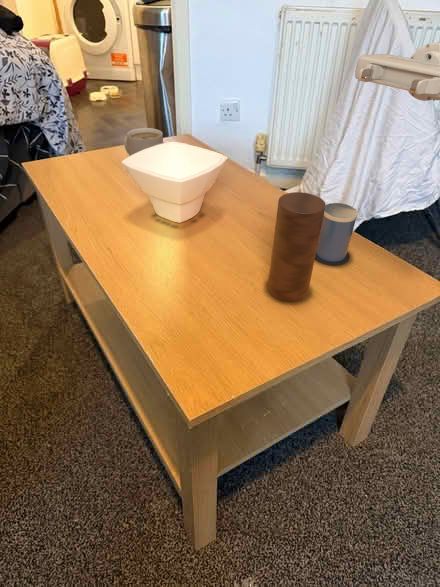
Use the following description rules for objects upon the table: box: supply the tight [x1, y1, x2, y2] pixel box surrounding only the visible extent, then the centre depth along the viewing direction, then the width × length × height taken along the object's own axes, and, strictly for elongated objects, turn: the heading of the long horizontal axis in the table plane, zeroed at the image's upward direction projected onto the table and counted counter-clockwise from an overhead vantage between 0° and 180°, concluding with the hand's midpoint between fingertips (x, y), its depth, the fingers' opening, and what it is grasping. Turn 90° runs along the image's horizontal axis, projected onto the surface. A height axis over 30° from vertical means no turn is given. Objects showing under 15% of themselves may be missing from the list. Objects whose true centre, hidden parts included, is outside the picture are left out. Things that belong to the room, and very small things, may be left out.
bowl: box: [121, 140, 229, 224], centre depth 95 cm, size 19×19×14 cm
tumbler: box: [316, 202, 359, 262], centre depth 84 cm, size 7×7×10 cm
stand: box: [267, 191, 327, 303], centre depth 72 cm, size 8×8×18 cm
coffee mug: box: [123, 127, 164, 157], centre depth 119 cm, size 13×10×10 cm
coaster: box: [314, 251, 350, 267], centre depth 87 cm, size 8×8×1 cm
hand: (387, 81), depth 64 cm, fingers open, 8 cm apart
